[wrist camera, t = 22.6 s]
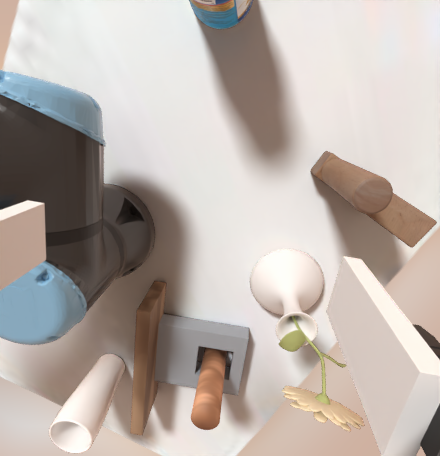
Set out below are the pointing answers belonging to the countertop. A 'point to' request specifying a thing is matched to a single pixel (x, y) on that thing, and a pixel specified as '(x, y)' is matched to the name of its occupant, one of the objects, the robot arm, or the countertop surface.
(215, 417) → the dowel
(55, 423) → the drinking glass
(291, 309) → the flower in vase
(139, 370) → the backstop board
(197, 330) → the holed block
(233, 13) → the beverage bottle
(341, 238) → the countertop surface
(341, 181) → the wooden block
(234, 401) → the countertop surface
